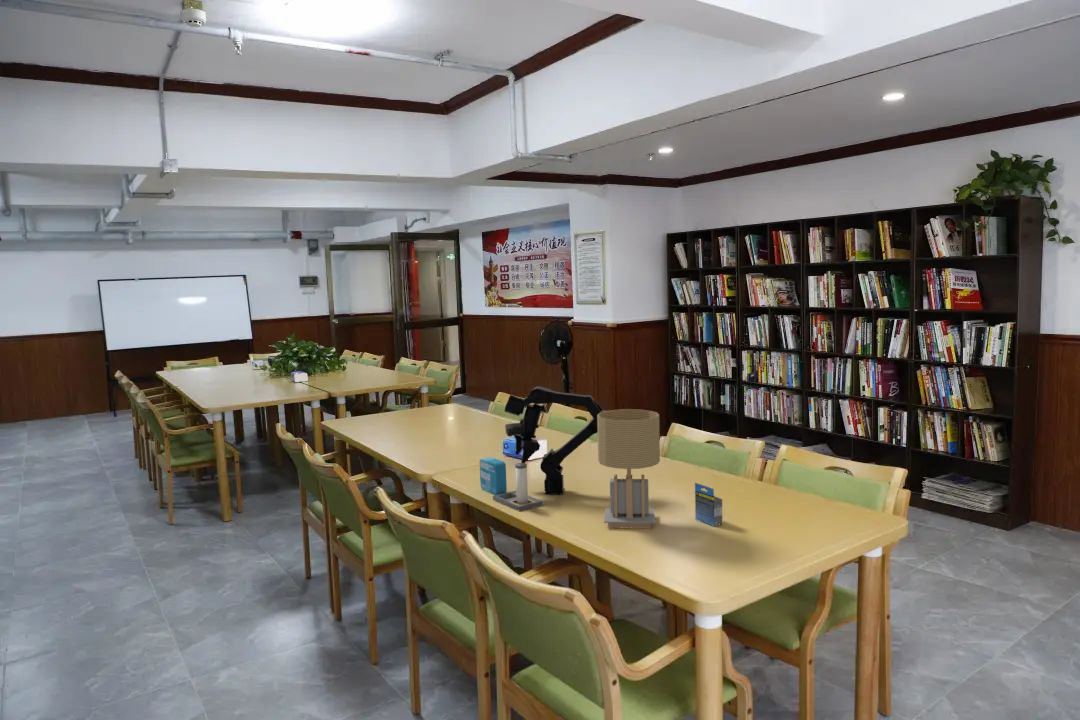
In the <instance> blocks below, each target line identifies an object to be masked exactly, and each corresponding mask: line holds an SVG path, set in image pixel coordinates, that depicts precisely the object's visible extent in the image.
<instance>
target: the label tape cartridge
mask: <svg viewBox="0 0 1080 720" xmlns="http://www.w3.org/2000/svg"><path fill="white" fill-rule="evenodd" d="M694 493H695V494H694V495H695V496H694V497H695V500H694V503H695V520H696V519H697V520H696V521H698V520H700V522H701V521H702V522H701V523H704V522H705V523H704V524H707V523H708V524H707V525H709V524H710V525H709V526H711V525H713V526H712V527H714V526H715V527H717V526H716V525H719V524H722V525H723V499H722V498H720V497H718V496H715V494H714V493H715V492H714V488H712V487H709V486H707V485H703V484H700V483H697V482H694ZM719 526H720V525H719Z"/></svg>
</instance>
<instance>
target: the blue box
mask: <svg viewBox="0 0 1080 720" xmlns="http://www.w3.org/2000/svg"><path fill="white" fill-rule="evenodd" d="M479 479H480V481H479V482H480V489H482V490H483V491H485V490H486V492H487V491H488V492H487V493H490V494H493V495H494V494H495V495H499V494H503V493H507V492H508V490H507V489H508V488H507V465H506V463H505V461H503V460H501V459H497V458H494V457H492V456H489V457H484V458H483V457H482V458H480V460H479Z"/></svg>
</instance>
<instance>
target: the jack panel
mask: <svg viewBox="0 0 1080 720" xmlns="http://www.w3.org/2000/svg"><path fill="white" fill-rule="evenodd" d="M507 497H508V498H507ZM512 497H513V498H512ZM503 498H504V499H503ZM492 500H493V501H494V500H495V502H497V503H499V502H500V503H499V504H501V503H502V505H503V506H507V507H508V506H509V508H511V509H513V508H514V509H513V510H515V509H516V511H517V510H519V511H518V512H521V511H520V510H522V511H525V510H524V509H526V510H529V509H528V508H530V509H533V508H532V507H534V508H537V506H538V507H540V506H541V505H542V506H543V505H544V504H543V503H544V502H543V500H541V499H538V498H535V497H534V496H530V495H528V503H527V504H523V505H518V504H517V500H516V490H512V491H506V492H505V493H501V494H497V495H494V494H493V495H492Z"/></svg>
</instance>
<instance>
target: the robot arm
mask: <svg viewBox="0 0 1080 720" xmlns="http://www.w3.org/2000/svg"><path fill="white" fill-rule="evenodd" d="M553 403H554V404H563V405H569V406H570V405H571V406H579V407H585V409H586V410H587V411H588V413H589V415H590V416H591V417H592V418H591V419H590V420H589V422H588V423H587V425H585V426H584V427H583V428H582V429H581V430H580V431H579V432H577V433H576V434H575V435H574V436H572V437H571V438H570V439H569V440H568V441H566V442H565V444H563V445H562V446H561V447H560V448H558V449H556V450H554V449H553V448H551V449H550V450H549V451H548V452H547V453H546V454H543V457H542V459H541V463H540V471H541V472H542V473H544V474H545V478H544V481H543V484H544V486H543V487H544V488H543V489H544V492H545V493H544V494H545V495H563V494H564V491H565V490H566V489H565V486H564V485H565V484H564V474H562V473H563V470H564V467H563V466H562V465H561V464H562V463H563V461H564V459H565V458H567V457H568V456H569V455H571V453H573V452H574V451H575V450H576V449H577V448H579V447H580V446H581V445H582V444H583V443H584V442H586V441H587V440H588V439H590V438H591V437H592V436H593V435H595V434H598V426H597V415H598V414H599V413H601V412H605V411H606V410H605V409H603V408H602V407H601V406H600V404H599V403H598V402H597V401H596V400H595V399H594V397H593V396H592V395H589V394H587V395H586V394H577V393H569V392H561V391H560V392H559V391H556V390H553V389H550V388H547V387H544V386H541V385H540V386H539V385H538V386H535V387H534V388H533V389H531V391H530V392H529V395H526V396H525V398H523V397H522V398H521V397H519V396H516V395H514V394H510V395H509V397H508V400H507V401H506V404H505V407H504V412H505V413H508V414H511V415H515V416H517V417H520V416H521V415H524V416H523V418H521V419H520V420H519V422H513V423H507V424H505V425H504V426H505V428H504V429H505V434H506V435H507V437H514V438H515V455H519V454H520V453H522V454H521V460H520V461H521V462H520V463H527V461H528V460H529V459H530V458H531V457H532V455H534V454H535V453H536V452H537V451H539V450H540V447H541V444H540V443H539V442H538V440H537V439H536V437H537V435H535V434H536V432H537V429H539V427H540V425H539V421H540V417H541V413H542V412H543V413H546V412H547V411H548V408H547V407H546V404H553ZM521 451H522V452H521Z"/></svg>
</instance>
